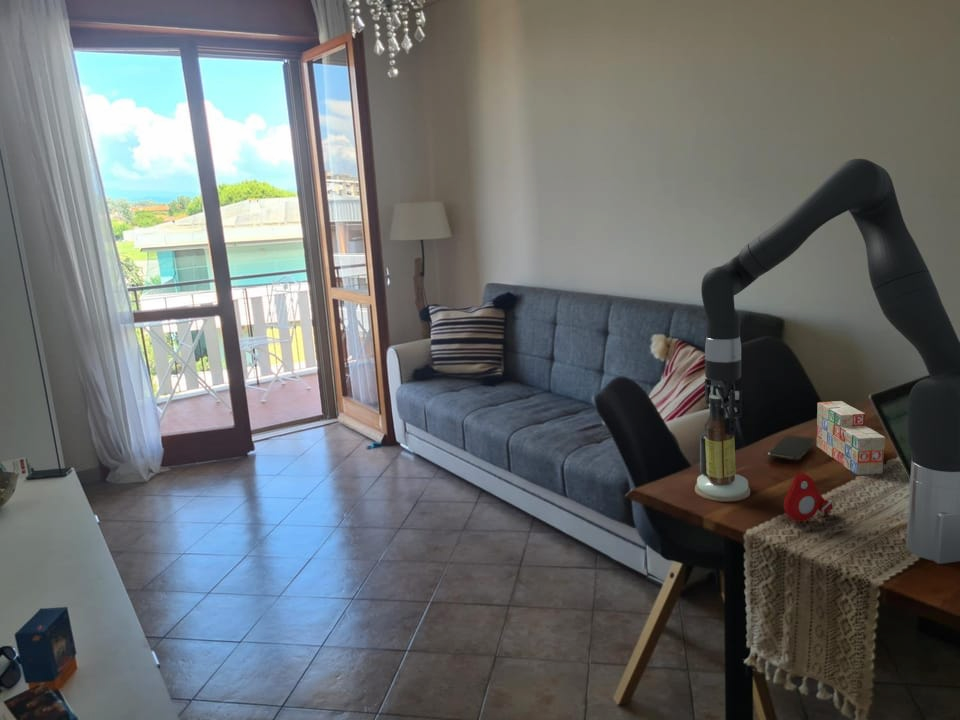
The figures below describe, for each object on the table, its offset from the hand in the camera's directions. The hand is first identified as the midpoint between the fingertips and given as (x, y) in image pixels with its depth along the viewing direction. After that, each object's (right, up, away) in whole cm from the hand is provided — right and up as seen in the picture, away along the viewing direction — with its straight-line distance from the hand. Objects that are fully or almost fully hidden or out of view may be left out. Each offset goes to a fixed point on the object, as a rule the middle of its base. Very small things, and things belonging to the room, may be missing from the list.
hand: (722, 429), depth 159 cm
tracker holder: (+13, -18, -13) cm, 25 cm away
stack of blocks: (+37, -10, +17) cm, 42 cm away
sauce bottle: (0, -12, +2) cm, 12 cm away
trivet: (+1, -15, +3) cm, 15 cm away
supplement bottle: (+1, -11, +8) cm, 14 cm away
